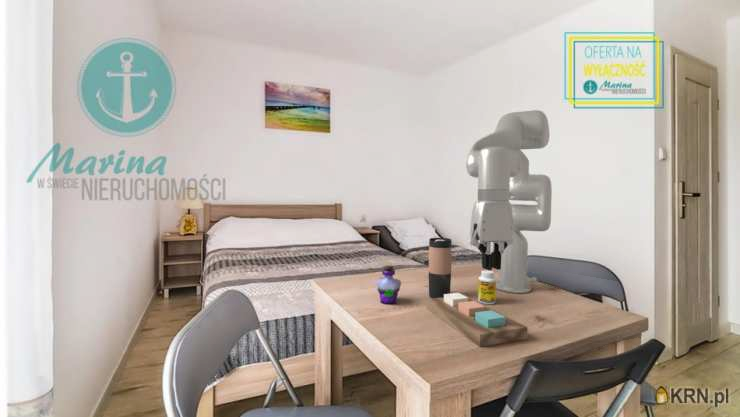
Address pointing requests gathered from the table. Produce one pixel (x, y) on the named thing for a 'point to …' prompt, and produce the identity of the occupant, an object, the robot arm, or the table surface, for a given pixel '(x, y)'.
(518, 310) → the table surface
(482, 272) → the supplement bottle
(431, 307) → the console
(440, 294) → the travel mug
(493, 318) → the teal button
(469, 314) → the terracotta button
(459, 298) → the ivory button
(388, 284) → the potion bottle
